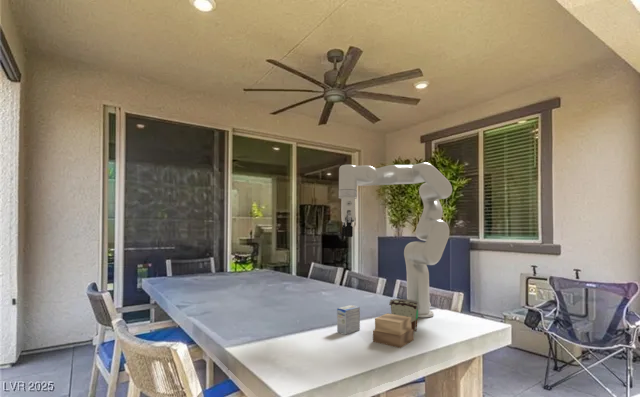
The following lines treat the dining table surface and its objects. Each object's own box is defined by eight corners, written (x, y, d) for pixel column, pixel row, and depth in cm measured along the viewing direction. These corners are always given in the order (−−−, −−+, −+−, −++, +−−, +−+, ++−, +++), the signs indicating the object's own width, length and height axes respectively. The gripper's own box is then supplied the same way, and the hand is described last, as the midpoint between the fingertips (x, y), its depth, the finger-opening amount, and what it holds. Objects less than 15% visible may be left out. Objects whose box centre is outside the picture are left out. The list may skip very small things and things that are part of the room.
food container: (426, 329, 134) (426, 301, 135) (418, 332, 130) (418, 304, 131) (397, 323, 143) (397, 297, 144) (389, 326, 138) (389, 299, 139)
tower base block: (387, 335, 127) (386, 324, 128) (413, 341, 121) (413, 329, 122) (372, 342, 120) (372, 330, 120) (400, 349, 113) (400, 336, 114)
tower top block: (387, 324, 127) (387, 313, 127) (411, 329, 122) (411, 317, 122) (375, 330, 120) (374, 318, 120) (400, 335, 114) (399, 322, 115)
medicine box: (351, 328, 136) (350, 304, 137) (360, 330, 133) (360, 306, 133) (336, 332, 130) (336, 308, 131) (346, 334, 127) (345, 310, 128)
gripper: (359, 193, 140) (359, 237, 138) (354, 197, 157) (353, 236, 155) (340, 192, 139) (339, 236, 138) (336, 196, 156) (336, 236, 155)
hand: (347, 236), depth 147 cm, fingers open, 9 cm apart
